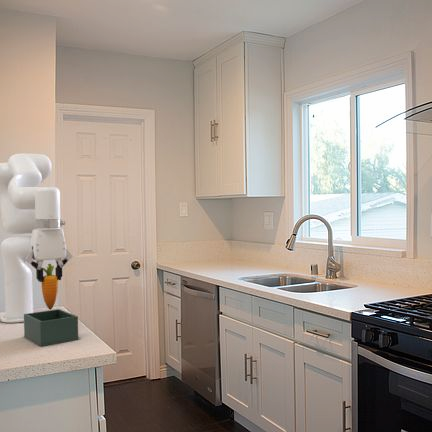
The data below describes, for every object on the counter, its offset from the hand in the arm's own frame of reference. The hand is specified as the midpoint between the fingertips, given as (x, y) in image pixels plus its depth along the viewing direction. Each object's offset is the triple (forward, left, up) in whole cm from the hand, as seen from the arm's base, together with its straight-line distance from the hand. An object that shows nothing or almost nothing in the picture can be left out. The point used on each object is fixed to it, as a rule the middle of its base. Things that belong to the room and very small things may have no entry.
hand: (49, 280), depth 176 cm
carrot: (0, 0, -10) cm, 10 cm away
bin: (0, 0, -19) cm, 19 cm away
